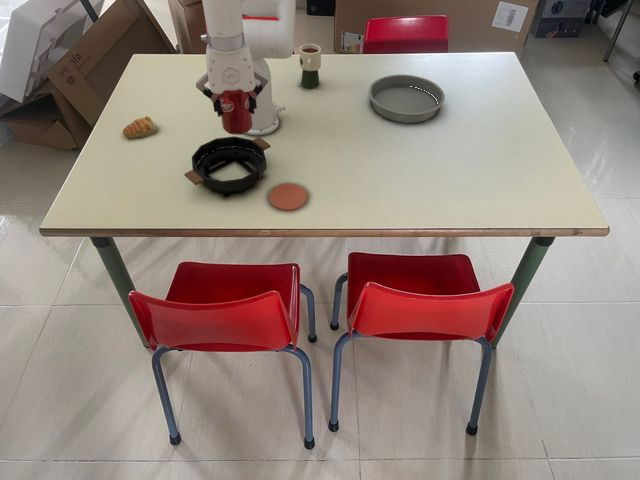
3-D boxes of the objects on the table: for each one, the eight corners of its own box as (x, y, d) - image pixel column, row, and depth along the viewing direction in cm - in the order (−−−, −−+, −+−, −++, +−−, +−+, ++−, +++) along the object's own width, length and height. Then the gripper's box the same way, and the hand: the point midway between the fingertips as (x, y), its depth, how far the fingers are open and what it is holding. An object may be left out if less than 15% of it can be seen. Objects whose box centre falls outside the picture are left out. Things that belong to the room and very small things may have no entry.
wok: (246, 143, 141) (244, 125, 136) (287, 174, 131) (287, 156, 127) (174, 178, 129) (169, 160, 125) (214, 215, 120) (210, 196, 115)
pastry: (129, 143, 140) (125, 132, 137) (120, 132, 143) (116, 122, 140) (159, 132, 144) (156, 121, 141) (149, 122, 147) (146, 111, 145)
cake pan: (453, 99, 159) (456, 87, 156) (423, 135, 145) (426, 122, 142) (388, 78, 168) (389, 66, 165) (353, 110, 154) (354, 97, 150)
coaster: (290, 180, 130) (290, 178, 129) (314, 198, 125) (314, 197, 124) (261, 196, 125) (261, 195, 125) (285, 216, 120) (285, 214, 120)
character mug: (301, 76, 168) (300, 40, 158) (321, 77, 168) (322, 41, 158) (298, 92, 161) (297, 55, 151) (319, 93, 160) (319, 57, 151)
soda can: (228, 139, 113) (221, 93, 104) (219, 123, 117) (211, 78, 109) (257, 131, 115) (252, 86, 106) (246, 116, 120) (241, 71, 111)
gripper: (184, 49, 97) (199, 124, 110) (269, 44, 99) (273, 118, 112) (185, 33, 102) (199, 106, 115) (266, 29, 104) (270, 101, 117)
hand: (236, 111), depth 113 cm, fingers closed on soda can, 7 cm apart
